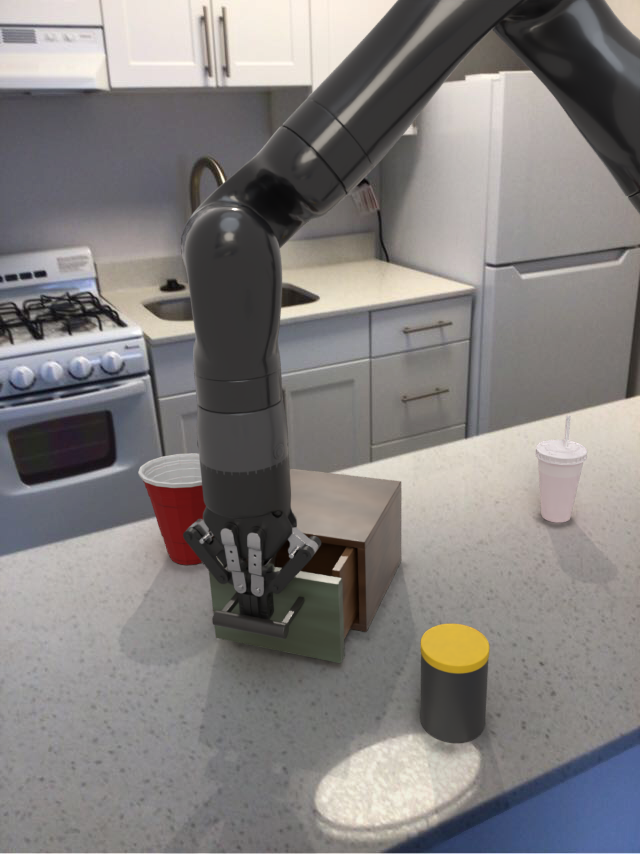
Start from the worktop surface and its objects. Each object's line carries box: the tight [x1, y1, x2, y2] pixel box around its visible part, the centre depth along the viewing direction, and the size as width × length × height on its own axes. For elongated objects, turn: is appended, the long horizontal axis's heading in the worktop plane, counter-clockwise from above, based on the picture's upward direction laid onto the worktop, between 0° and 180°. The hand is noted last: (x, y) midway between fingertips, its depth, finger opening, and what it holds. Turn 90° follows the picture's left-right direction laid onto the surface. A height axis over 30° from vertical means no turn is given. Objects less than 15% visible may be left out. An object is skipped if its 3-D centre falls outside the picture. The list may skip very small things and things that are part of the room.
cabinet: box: [290, 467, 402, 633], centre depth 85 cm, size 15×15×11 cm
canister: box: [419, 622, 491, 744], centre depth 65 cm, size 6×6×8 cm
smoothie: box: [534, 415, 588, 524], centre depth 97 cm, size 6×6×14 cm
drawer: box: [208, 540, 359, 664], centre depth 76 cm, size 19×13×9 cm
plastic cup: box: [137, 452, 206, 566], centre depth 92 cm, size 11×11×12 cm
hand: (257, 622), depth 70 cm, fingers closed
